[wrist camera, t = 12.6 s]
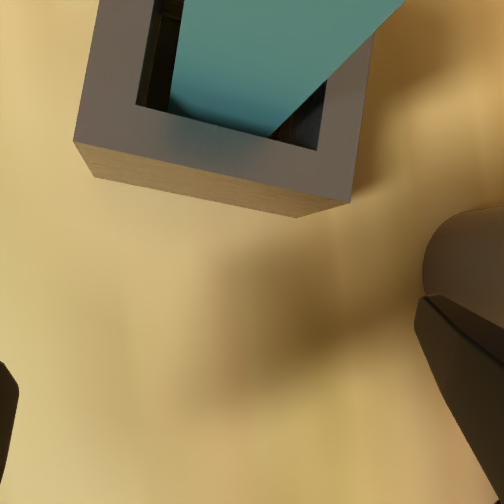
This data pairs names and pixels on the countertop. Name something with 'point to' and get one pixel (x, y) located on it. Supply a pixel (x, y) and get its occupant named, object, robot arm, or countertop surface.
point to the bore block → (213, 127)
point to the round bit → (469, 262)
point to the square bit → (263, 56)
